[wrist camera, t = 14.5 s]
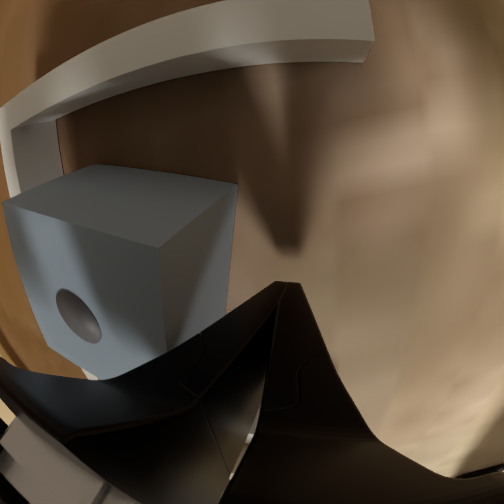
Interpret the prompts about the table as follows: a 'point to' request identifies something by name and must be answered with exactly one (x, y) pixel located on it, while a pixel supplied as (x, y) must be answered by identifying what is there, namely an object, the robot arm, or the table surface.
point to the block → (123, 261)
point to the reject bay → (175, 68)
